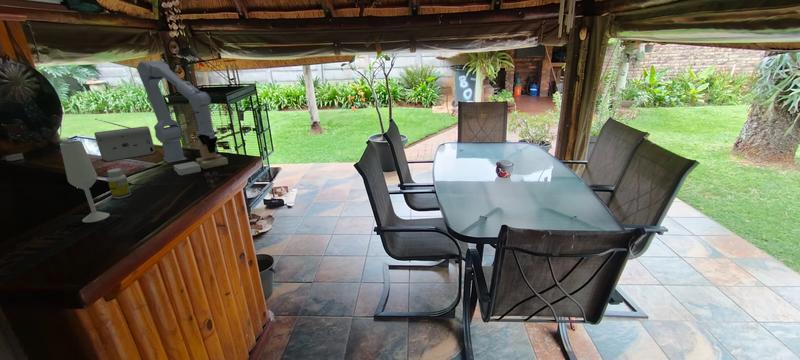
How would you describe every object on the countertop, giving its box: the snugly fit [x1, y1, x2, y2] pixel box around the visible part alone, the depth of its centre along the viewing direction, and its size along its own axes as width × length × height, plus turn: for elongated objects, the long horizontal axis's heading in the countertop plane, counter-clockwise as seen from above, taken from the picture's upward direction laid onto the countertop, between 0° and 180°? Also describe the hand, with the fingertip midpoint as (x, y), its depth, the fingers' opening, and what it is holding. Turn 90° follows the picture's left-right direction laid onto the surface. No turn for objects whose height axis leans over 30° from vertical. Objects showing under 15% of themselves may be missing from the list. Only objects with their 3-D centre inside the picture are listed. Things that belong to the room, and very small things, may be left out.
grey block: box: [173, 161, 202, 176], centre depth 151 cm, size 8×8×3 cm
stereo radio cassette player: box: [94, 118, 156, 163], centre depth 167 cm, size 21×8×20 cm, turn 133°
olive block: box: [195, 153, 229, 170], centre depth 160 cm, size 10×10×3 cm
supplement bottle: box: [106, 167, 132, 200], centre depth 124 cm, size 5×5×10 cm
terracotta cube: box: [198, 144, 218, 159], centre depth 158 cm, size 5×5×5 cm
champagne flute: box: [59, 140, 110, 223], centre depth 106 cm, size 7×7×24 cm
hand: (210, 151), depth 158 cm, fingers closed on terracotta cube, 5 cm apart
